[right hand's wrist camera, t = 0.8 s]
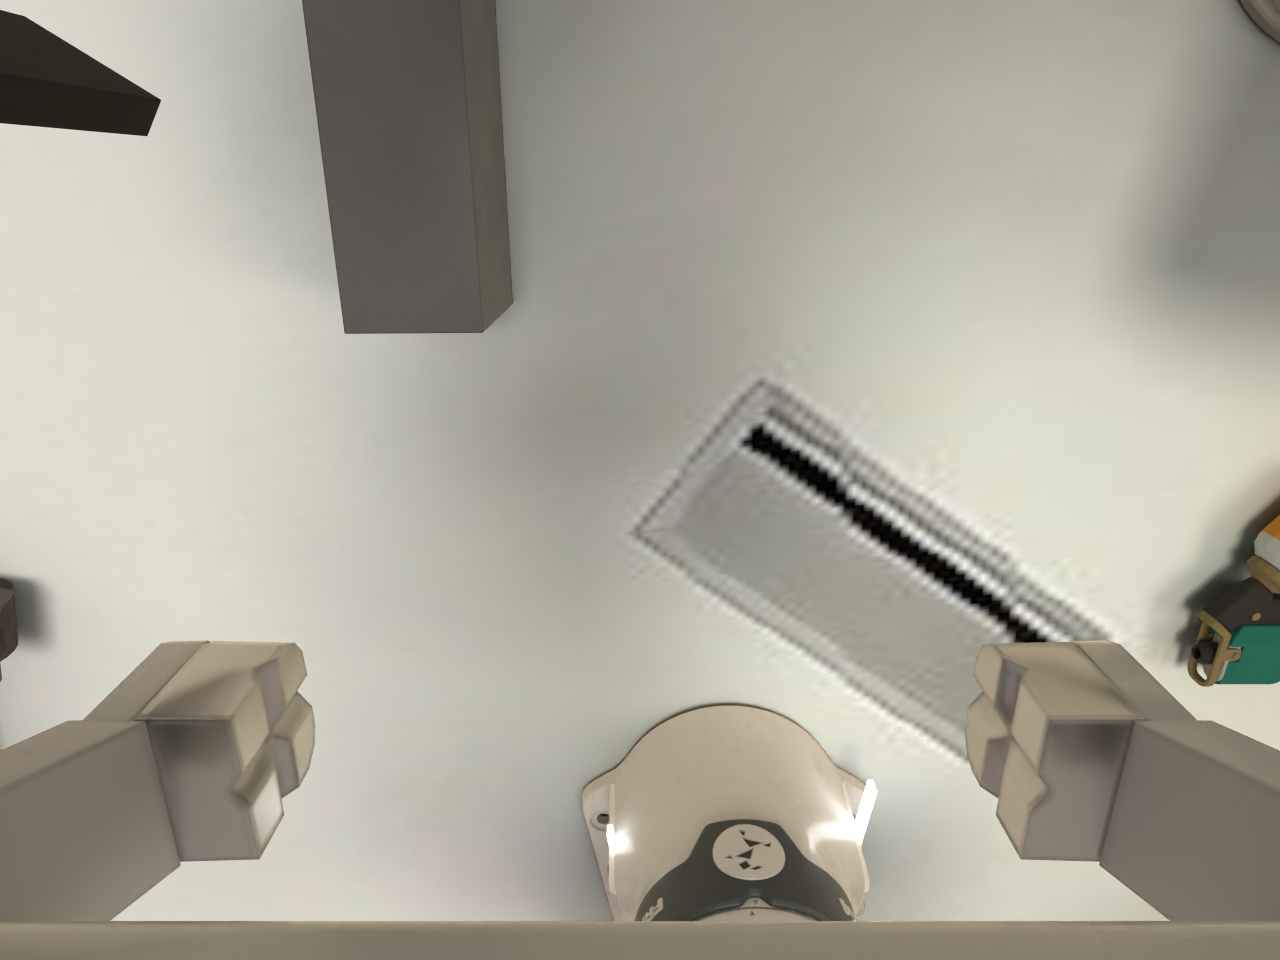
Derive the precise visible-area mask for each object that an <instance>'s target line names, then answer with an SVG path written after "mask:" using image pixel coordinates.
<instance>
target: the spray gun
mask: <svg viewBox="0 0 1280 960" xmlns="http://www.w3.org/2000/svg"><path fill="white" fill-rule="evenodd" d="M1254 546H1255V555H1256V556H1252V557H1250V558H1249V559H1248V560H1247V563H1248V566H1249V568H1250V570H1251V575H1252V577H1250V578H1248V579H1246V580H1244V581H1242V582H1241V583H1240V584H1238V585H1237V586H1236V587H1234V588H1233V589H1232V590H1230V591H1229V592H1228V593H1226V594H1225V595H1224V596H1222V597H1221V598H1220V599H1218V600H1217V601H1216V602H1214V603H1213V604H1212V605H1210V606H1209V607H1208V608H1206V610H1205V611H1204V610H1202V611H1201V612H1200V613H1199V614H1197V616H1198V617H1199V618H1200V619H1201V620H1202V621H1203V622H1202V624H1201V627H1200V630H1199V633H1198V636H1197V639H1196V642H1195V645H1194V647H1193V648H1192V654H1191V657H1190V659H1189V662H1188V672H1189V675H1190V676H1191V678H1192V679H1193V680H1194V681H1196V682H1197V683H1198V684H1199V685H1201V686H1212V685H1213V684H1274V683H1277V682H1279V681H1280V515H1279V516H1278V517H1276V518H1275V519H1274V520H1273V521H1272V522H1271V523H1270V524H1268V525H1267V526H1266V527H1265V528H1264V529H1263V530H1262V531H1261V532H1260V533H1259V535H1258V536H1257V538H1256V540H1255V541H1254ZM1209 627H1211V630H1212V631H1214V632H1215V633H1208V630H1209ZM1197 662H1199V663H1201V664H1203V668H1204V672H1205V674H1206V676H1207V679H1206V680H1204V679H1203V678H1202V677H1201V676H1200V675H1199V674H1198V672H1197V669H1196V667H1197Z"/></svg>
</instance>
